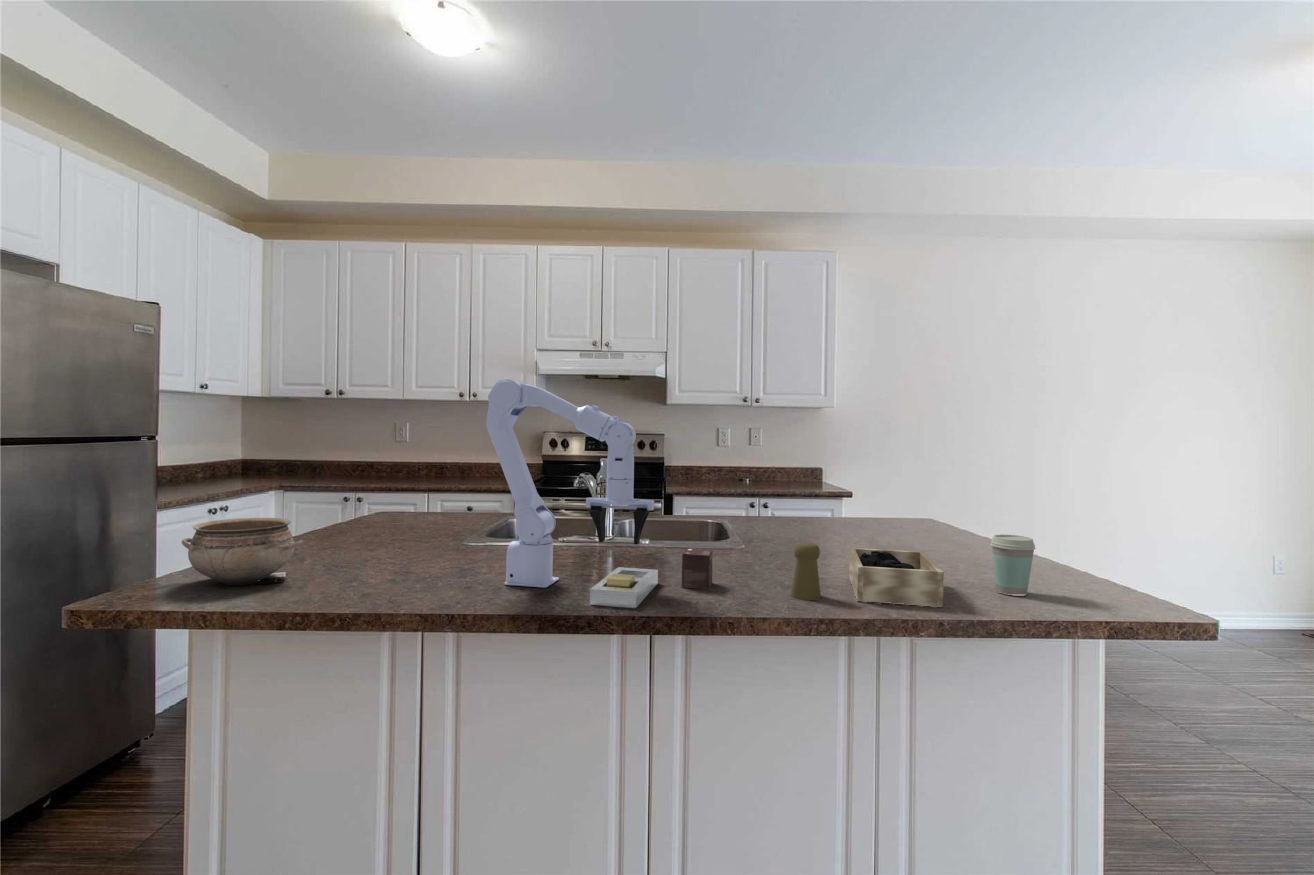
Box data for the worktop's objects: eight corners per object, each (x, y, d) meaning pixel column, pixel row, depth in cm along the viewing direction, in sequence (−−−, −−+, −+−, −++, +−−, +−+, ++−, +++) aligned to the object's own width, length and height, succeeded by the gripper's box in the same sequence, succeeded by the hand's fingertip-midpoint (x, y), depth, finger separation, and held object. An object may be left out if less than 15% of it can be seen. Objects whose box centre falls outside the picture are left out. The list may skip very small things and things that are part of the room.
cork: (822, 594, 138) (823, 541, 137) (819, 601, 132) (820, 546, 132) (792, 591, 140) (794, 539, 139) (788, 598, 134) (790, 544, 134)
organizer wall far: (854, 579, 151) (854, 548, 151) (853, 578, 152) (854, 548, 152) (918, 583, 149) (919, 552, 148) (918, 582, 150) (918, 551, 149)
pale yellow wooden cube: (606, 601, 129) (607, 578, 129) (613, 595, 134) (613, 573, 134) (629, 603, 128) (629, 580, 128) (634, 597, 133) (635, 575, 133)
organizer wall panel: (857, 601, 132) (858, 566, 132) (849, 578, 153) (850, 547, 153) (862, 602, 132) (863, 567, 132) (853, 578, 152) (854, 548, 152)
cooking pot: (324, 572, 149) (325, 518, 149) (276, 594, 130) (276, 532, 130) (213, 570, 149) (214, 516, 149) (149, 591, 130) (149, 529, 130)
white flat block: (590, 604, 127) (590, 588, 126) (617, 580, 146) (618, 567, 146) (635, 608, 125) (635, 592, 125) (657, 583, 144) (658, 569, 144)
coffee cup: (1032, 591, 143) (1033, 536, 143) (1036, 600, 136) (1037, 542, 135) (988, 586, 147) (989, 532, 147) (989, 595, 139) (991, 538, 139)
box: (709, 589, 140) (709, 555, 140) (681, 587, 141) (681, 553, 141) (712, 583, 146) (713, 549, 146) (685, 581, 147) (686, 548, 147)
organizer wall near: (862, 602, 132) (863, 567, 132) (861, 600, 133) (862, 566, 133) (937, 607, 129) (938, 571, 129) (936, 606, 130) (937, 570, 130)
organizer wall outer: (937, 607, 129) (938, 571, 129) (918, 582, 150) (918, 551, 149) (942, 607, 129) (943, 572, 129) (922, 582, 149) (923, 551, 149)
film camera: (935, 602, 133) (936, 558, 133) (894, 605, 131) (895, 560, 130) (888, 584, 148) (889, 544, 148) (850, 586, 145) (851, 545, 145)
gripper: (581, 478, 138) (580, 543, 138) (649, 481, 135) (648, 547, 135) (591, 476, 145) (590, 538, 145) (656, 478, 142) (655, 541, 142)
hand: (619, 542), depth 141 cm, fingers open, 7 cm apart
